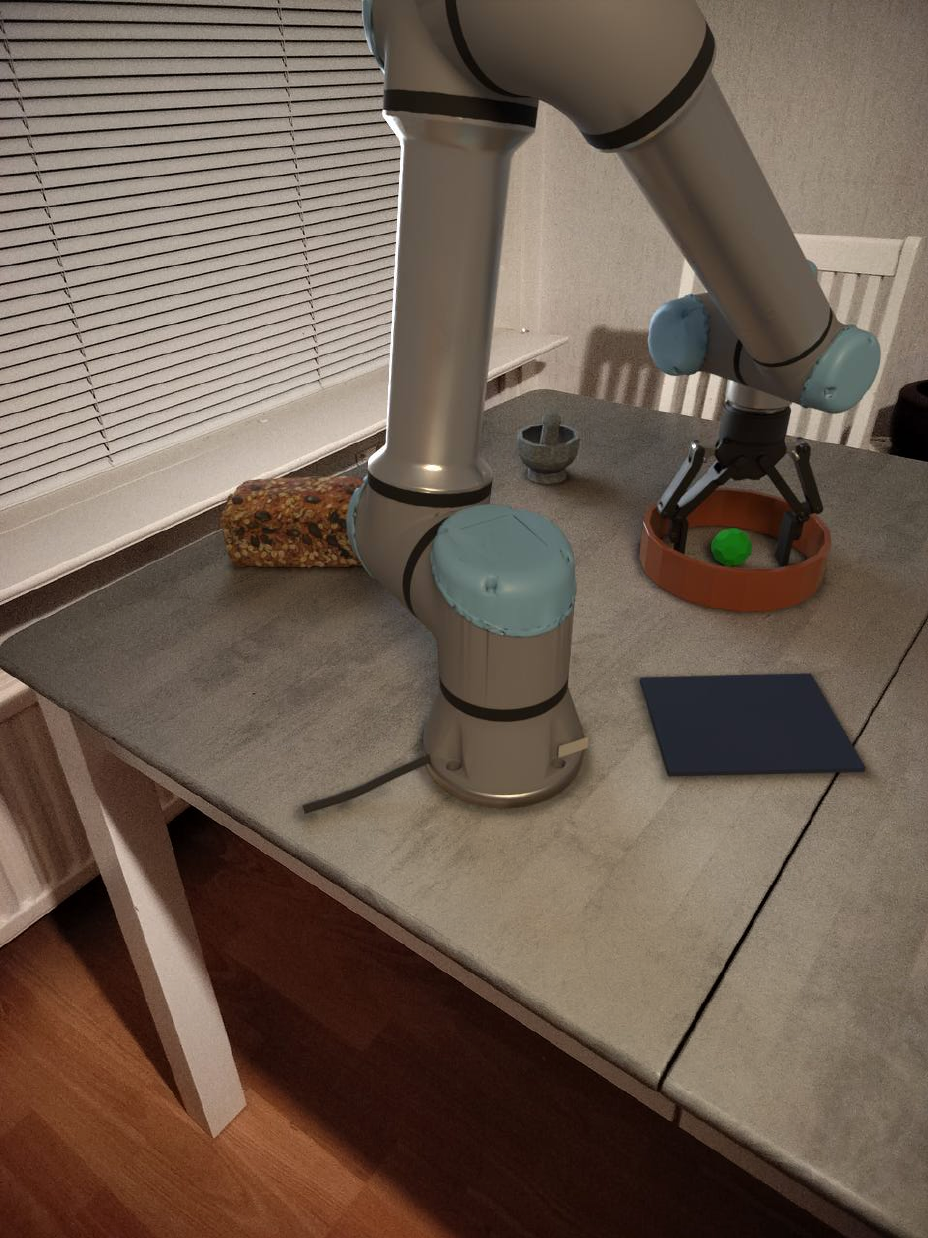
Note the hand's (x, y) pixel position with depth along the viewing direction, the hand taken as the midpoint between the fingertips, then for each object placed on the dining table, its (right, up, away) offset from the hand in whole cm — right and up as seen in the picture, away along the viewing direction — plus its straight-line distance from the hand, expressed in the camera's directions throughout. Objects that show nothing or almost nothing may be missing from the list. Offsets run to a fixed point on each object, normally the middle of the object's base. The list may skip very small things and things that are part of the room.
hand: (729, 562), depth 107 cm
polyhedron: (0, 0, 0) cm, 0 cm away
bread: (-56, +2, +5) cm, 56 cm away
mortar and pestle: (-21, +15, +23) cm, 35 cm away
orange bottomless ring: (0, 0, 0) cm, 0 cm away
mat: (-7, -18, -26) cm, 32 cm away
